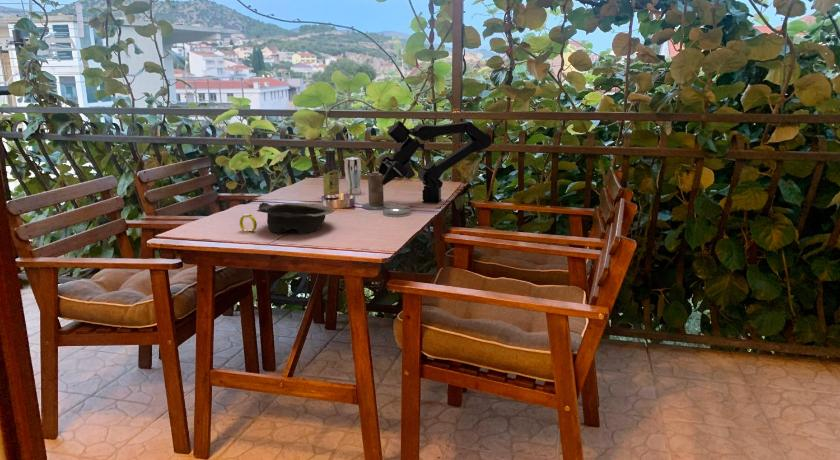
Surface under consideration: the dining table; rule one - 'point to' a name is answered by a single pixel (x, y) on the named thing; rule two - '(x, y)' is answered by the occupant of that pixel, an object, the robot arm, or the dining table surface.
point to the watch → (250, 218)
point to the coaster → (368, 207)
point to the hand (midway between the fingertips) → (379, 182)
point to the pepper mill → (375, 189)
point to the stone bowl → (294, 216)
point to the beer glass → (353, 175)
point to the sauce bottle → (330, 174)
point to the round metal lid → (396, 210)
